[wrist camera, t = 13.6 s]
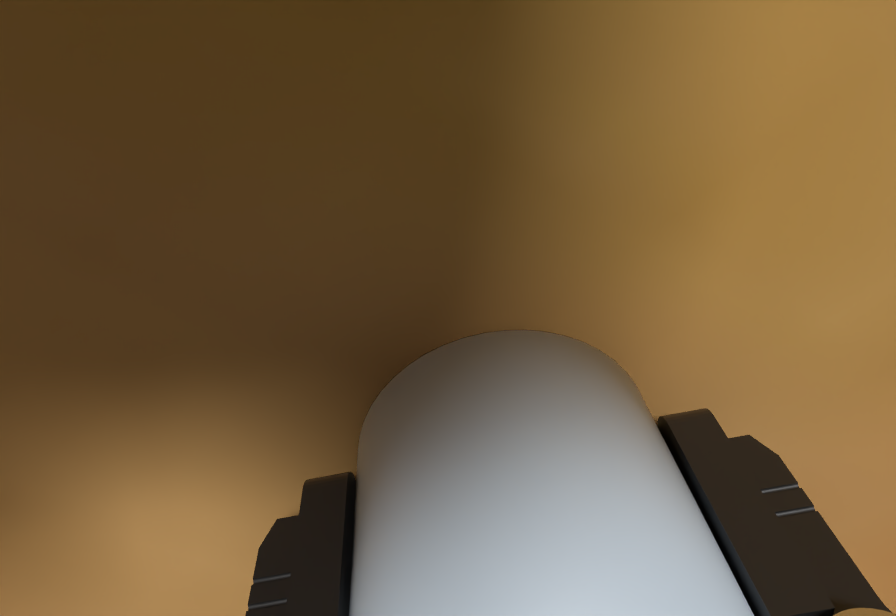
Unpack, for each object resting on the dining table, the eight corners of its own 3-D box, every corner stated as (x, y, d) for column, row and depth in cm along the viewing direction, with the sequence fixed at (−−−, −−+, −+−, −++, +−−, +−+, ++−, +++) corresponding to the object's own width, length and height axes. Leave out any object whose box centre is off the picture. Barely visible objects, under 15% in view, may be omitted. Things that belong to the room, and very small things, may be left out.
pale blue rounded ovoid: (323, 363, 11) (262, 805, 5) (645, 302, 10) (897, 696, 5) (392, 571, 13) (395, 1004, 8) (650, 525, 13) (822, 933, 8)
